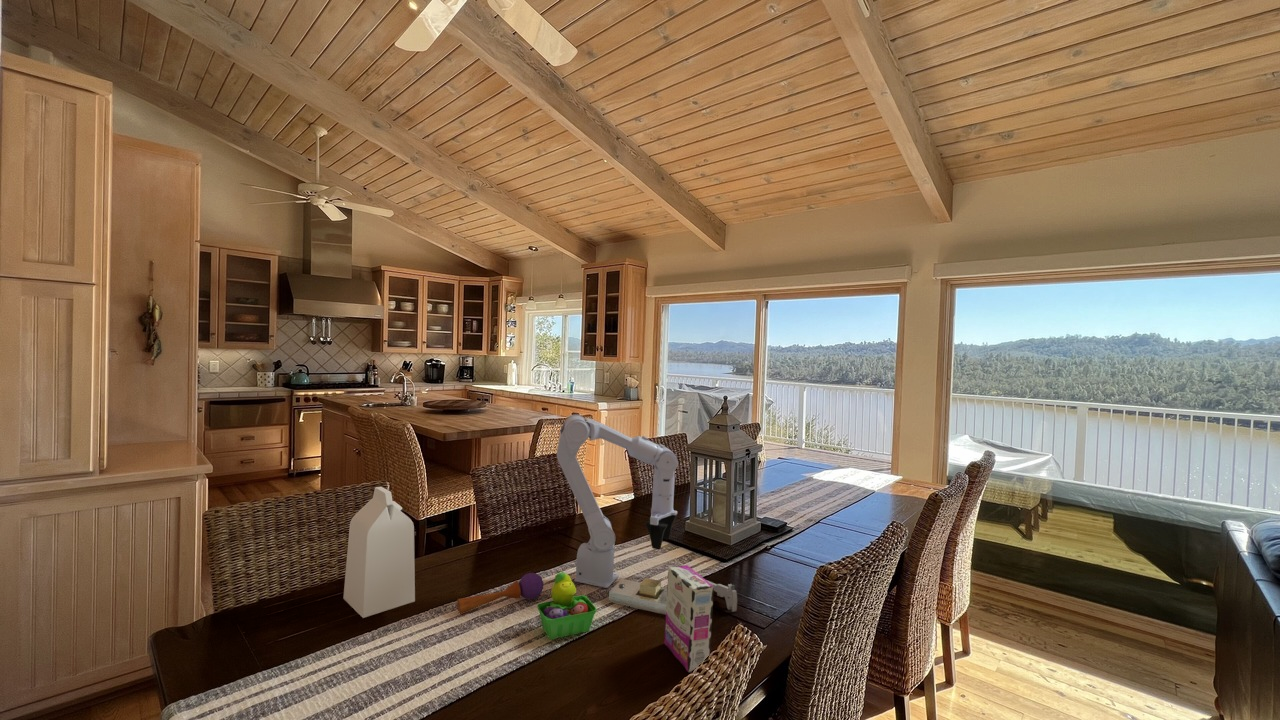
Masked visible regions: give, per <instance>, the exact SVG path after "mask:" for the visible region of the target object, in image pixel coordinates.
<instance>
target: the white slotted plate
mask: <svg viewBox="0 0 1280 720" xmlns="http://www.w3.org/2000/svg"><path fill="white" fill-rule="evenodd" d="M641 583H642V582H641V581H640V582H639V581H635V580H634V581H633V580H629V579H625V578H621V579H619V581H618V582H617V583H615V584H614V586H613V587H612V588H611V589H610V591H608V592H609V593H608V602H609V603H611V602H613V603H612V604H617V605H620V604H621V606H625V605H626V606H625V607H629V606H630V608H634V609H638V610H642V611H648V612H653V613H656V614H661V615H665V616H666V602H667V587H664V586H661V588H660V596H659V598H658V599H652V598H648V597H643V596H639V594H640V584H641Z"/></svg>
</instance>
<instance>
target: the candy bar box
mask: <svg viewBox="0 0 1280 720" xmlns="http://www.w3.org/2000/svg"><path fill="white" fill-rule="evenodd" d="M667 569H668V570H667V571H668V572H667V587H666V588H667V602H666V615H665V619H664V620H665V621H664V622H665V623H664V646H666V647H667V649H668V650H669V652H671V653H672V655H673V656H674V657H675V659H677V661H678V662H679V663H680V664H681V665H682V667H683V668H684V669H685V671H687V672H688V673H693V672H692V671H693V670H694V669H695V668H697V667H698V666H699V665H700V664H701V663H702V662H703V661H704V660H705V659H706V658H707V657H708V656H709V655H710V656H711V641H712V639H711V638H712V623H713V605H714V592H715V591H714V586H713V585H711V584H710V583H709V582H708V581H709V580H707V579H705V578H704V577H703V576H701V575H700V574H699V573H698V572H696V571H695V570H694V569H693V568H691V566H689V565H688V564H686V565H677V566H671V567H667ZM706 580H707V581H706Z"/></svg>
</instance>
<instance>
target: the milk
mask: <svg viewBox="0 0 1280 720" xmlns="http://www.w3.org/2000/svg"><path fill="white" fill-rule="evenodd" d="M402 510H403V507H402V506H401V505H400V504H398V503H397V502H396V501H394V500H393V495H392V491H390V490H388V489H386V488H385V487H383V486H376V487H374V490H373V496H372V498H371V499H370V500H369V501H368V502H366V504H365V505H363V506H362V508H360V509H359V510H358V512H357V511H356V513H355V514H354V515H353V517H352V518H351V520H350V522H349V528H348V529H349V532H348V543H347V550H346V551H347V553H346V563H345V566H346V567H345V575H344V576H345V577H344V588H343V600H344V601H345V602H346V603H347V604H348V605H349V606H350V607H351V609H352V608H353V609H354V611H355V612H356V613H357V614H358V615H360V617H362V619H364V618H367V617H370V616H373V615H378V614H379V613H383V612H385V611H389V610H392V609H396V608H398V607H401V606H404V605H407V604H411V603H414V602H415V601H416V586H415V583H416V581H415V580H416V579H415V576H416V574H415V573H416V572H415V526H414V522H413V521H412V519H411V518H410V517H409V516H408V515H407V514H405V513H404V512H403V511H402Z"/></svg>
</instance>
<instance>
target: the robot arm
mask: <svg viewBox="0 0 1280 720" xmlns="http://www.w3.org/2000/svg"><path fill="white" fill-rule="evenodd" d="M559 430H560V431H559V437H558V443H557V449H556V459H557V461H558V464H559V466H560V468H561V470H562V472H563V475H564V477H565V479H566V480H567V483H568V485H569V488H570V489H571V491H572V494H573V497H575V500H576V502H577V504H578V507H579V509H580V510H581V513H582V515H583V518H584V521H585V522H586V525H587V527H588V528H587V530H588V533H589V536H590V538H589V539H588V542H583V543H581V544H580V545H579V547H578V549H577V553H576V562H575V563H576V564H575V578H574V579H573V580H574V582H575V583H576V582H577V583H579V584H585V585H591V586H594V587H599V588H603V589H608V588H609V587H610V586H611V585H612V584H613V583H614V582H615V581H616V580H617V579H618V578H619V574H617V573H614V566H615V565H614V564H615V562H614V561H615V546H616V545H615V542H616V534H615V532H614V530H613V527H612V522H611V521H610V519H609V518H608V517H606V516H605V515H604V514H603V511H602V509H601V508H600V506H599V504H598V501H597V500H596V497H595V495H594V493H593V490H592V489H591V487H590V484H589V482H588V480H587V478H586V476H585V474H584V472H583V469H582V467H581V465H580V462H579V461H578V458H577V455H578V453H579V451H580V448H581V447H582V446H583V444H584V443H585V442H586V441H587V440H588V438H589V441H591V442H593V441H595V440H600V439H601V440H602V441H603V440H604V441H606V442H607V443H611V444H613V445H616V446H619V447H621V448H623V449H626V450H627V454H628V455H629V456H630V457H632V458H634V459H636V460H637V461H640V462H643V463H645V464H647V465H649V466H653V479H652V481H653V482H652V497H651V498H652V499H651V501H652V502H651V508H650V517H649V519H647V520H646V521H645V527H646V529H647V530H648V534H649V540H650V544H651V548H652V549H654V550H661V548H662V544H663V540H669V539H670V537H671V533H672V529H673V525H674V524H675V521H676V518H677V517H678V511H677V510H674V497H675V483H676V482H675V480H676V477H675V473H676V472H675V470H676V469H677V468H678V467H679V466H678V465H679V461H678V457H677V456H676V454H675V453H674V452H673V451H672V450H671V449H670V448H668V447H667V446H664V445H663V444H661V443H659V444H658V443H655V442H652V441H651V440H648V437H647V436H645V435H642V436H640V435H637V436H633V437H630V436H629V435H626V434H624V433H622V432H621V431H619V430H616V429H614V428H613V427H610V426H608V425H606V424H604V423H602V422H599V421H597V420H594V419H592V418H588V417H586V418H585V417H583V415H581V414H571V415H569V416H568V417H566V419H565V420H564V422H563V424H562V425H561V427H560V429H559Z"/></svg>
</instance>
